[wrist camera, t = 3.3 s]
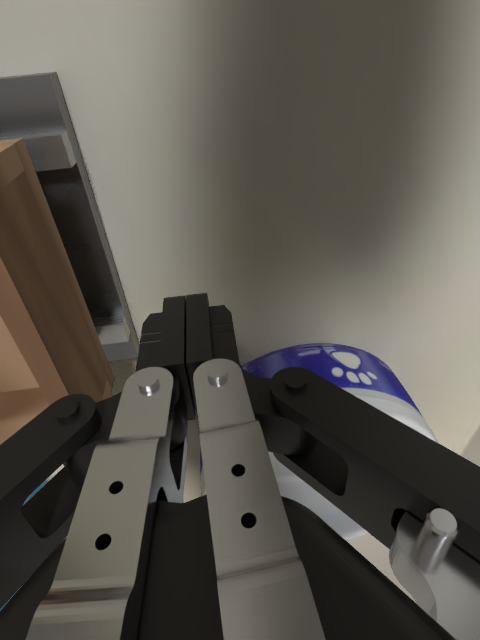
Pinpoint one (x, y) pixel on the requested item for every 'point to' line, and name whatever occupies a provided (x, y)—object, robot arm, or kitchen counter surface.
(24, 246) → the wooden tray box
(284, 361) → the dog bowl
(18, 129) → the track
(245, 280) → the kitchen counter surface
